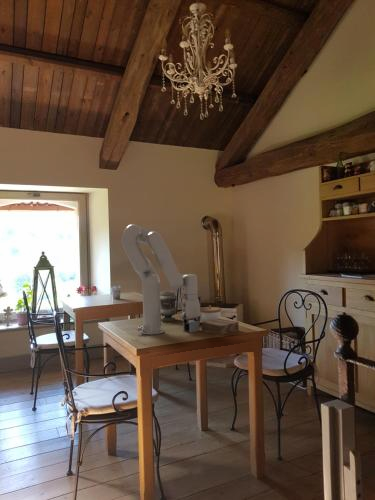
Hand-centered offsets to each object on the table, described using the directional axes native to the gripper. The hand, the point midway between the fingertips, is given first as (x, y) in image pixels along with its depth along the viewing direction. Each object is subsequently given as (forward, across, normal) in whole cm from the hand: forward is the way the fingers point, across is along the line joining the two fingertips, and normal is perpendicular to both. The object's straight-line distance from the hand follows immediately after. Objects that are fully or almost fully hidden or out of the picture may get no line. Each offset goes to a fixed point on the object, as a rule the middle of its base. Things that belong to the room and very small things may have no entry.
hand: (191, 329), depth 210 cm
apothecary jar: (+1, +12, +33) cm, 35 cm away
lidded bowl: (+1, +20, +4) cm, 20 cm away
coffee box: (+1, +15, +14) cm, 20 cm away
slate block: (+1, 0, 0) cm, 1 cm away
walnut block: (+1, +10, -12) cm, 16 cm away
